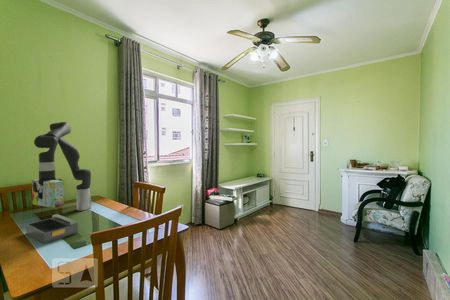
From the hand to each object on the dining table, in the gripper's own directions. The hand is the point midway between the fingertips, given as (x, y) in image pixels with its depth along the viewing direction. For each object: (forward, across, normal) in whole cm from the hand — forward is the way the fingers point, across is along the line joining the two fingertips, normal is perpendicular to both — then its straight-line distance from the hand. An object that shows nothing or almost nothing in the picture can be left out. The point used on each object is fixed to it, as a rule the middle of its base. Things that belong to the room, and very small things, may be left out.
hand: (47, 197), depth 124 cm
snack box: (+5, 0, 0) cm, 5 cm away
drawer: (+22, -2, 0) cm, 22 cm away
